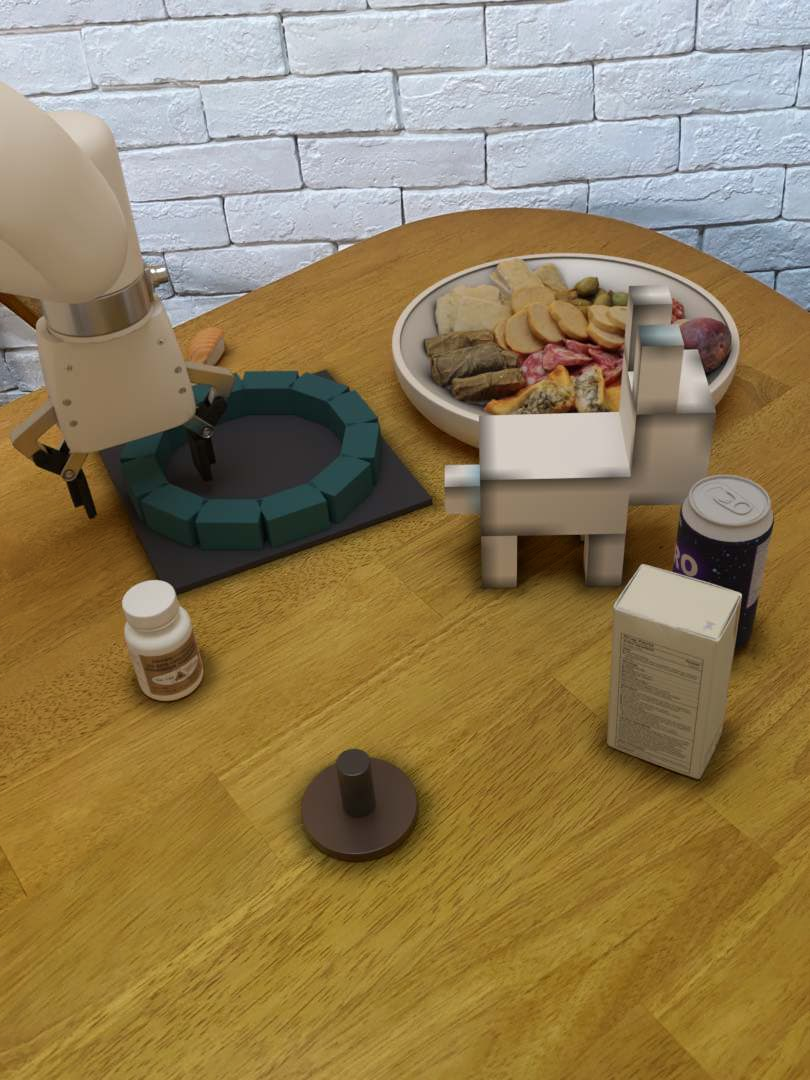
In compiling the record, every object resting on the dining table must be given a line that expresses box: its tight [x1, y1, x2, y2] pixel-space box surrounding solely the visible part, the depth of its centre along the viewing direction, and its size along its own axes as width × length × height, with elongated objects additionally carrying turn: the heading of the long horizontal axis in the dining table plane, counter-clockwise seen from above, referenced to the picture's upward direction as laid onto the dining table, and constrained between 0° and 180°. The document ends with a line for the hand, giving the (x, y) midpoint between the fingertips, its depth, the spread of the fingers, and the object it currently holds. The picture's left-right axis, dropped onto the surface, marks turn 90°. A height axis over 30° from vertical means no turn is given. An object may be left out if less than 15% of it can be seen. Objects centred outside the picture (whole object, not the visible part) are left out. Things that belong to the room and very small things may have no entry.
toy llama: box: [444, 285, 717, 589], centre depth 78 cm, size 8×18×20 cm, turn 88°
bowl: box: [391, 252, 741, 449], centre depth 99 cm, size 30×30×8 cm
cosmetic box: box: [606, 563, 742, 780], centre depth 67 cm, size 6×4×12 cm
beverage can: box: [671, 474, 775, 653], centre depth 73 cm, size 6×6×12 cm
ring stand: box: [300, 748, 419, 862], centre depth 67 cm, size 7×7×5 cm
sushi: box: [187, 326, 226, 366], centre depth 107 cm, size 3×6×3 cm, turn 167°
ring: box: [120, 370, 382, 550], centre depth 93 cm, size 21×21×3 cm
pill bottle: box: [121, 579, 204, 702], centre depth 75 cm, size 4×4×8 cm
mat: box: [98, 369, 433, 595], centre depth 94 cm, size 22×22×1 cm
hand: (147, 490), depth 90 cm, fingers open, 9 cm apart
